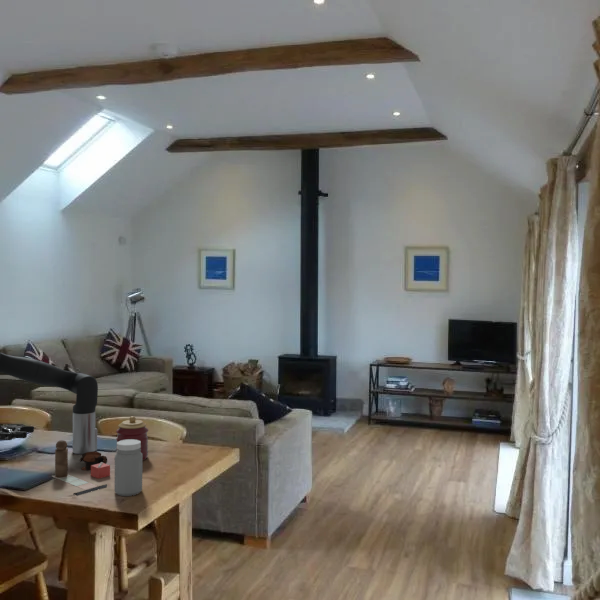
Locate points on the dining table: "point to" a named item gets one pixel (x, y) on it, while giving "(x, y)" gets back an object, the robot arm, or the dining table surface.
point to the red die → (100, 470)
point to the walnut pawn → (61, 459)
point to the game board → (81, 482)
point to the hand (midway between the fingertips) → (30, 432)
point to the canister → (134, 433)
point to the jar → (128, 468)
